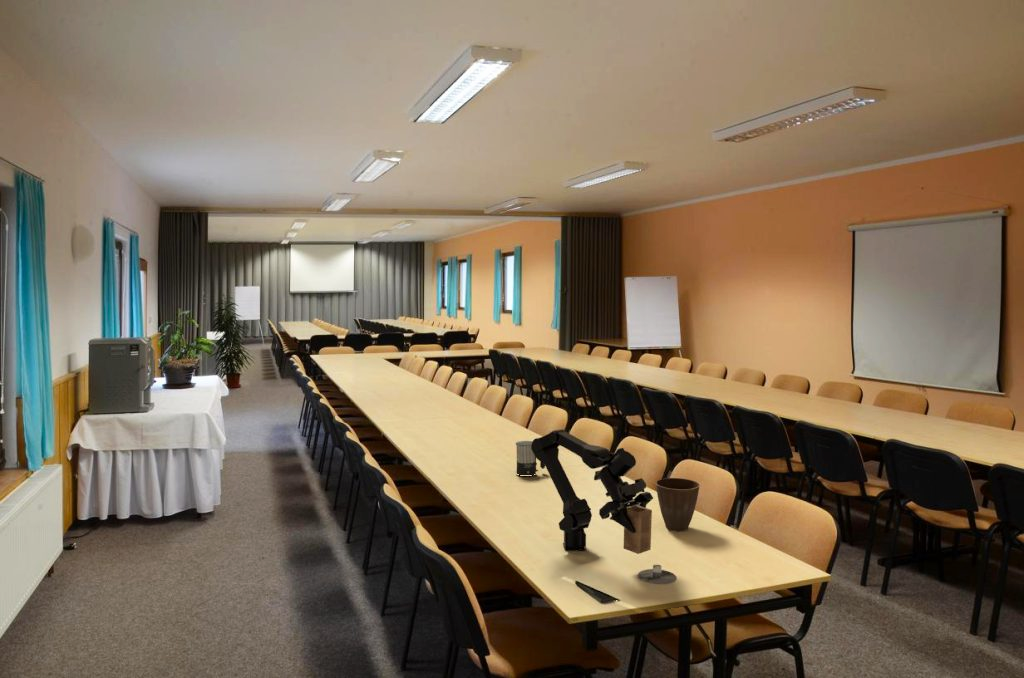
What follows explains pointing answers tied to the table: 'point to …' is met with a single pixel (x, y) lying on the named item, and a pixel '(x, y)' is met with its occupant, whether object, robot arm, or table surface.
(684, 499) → the plant pot
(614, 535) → the table surface
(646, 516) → the walnut sleeve
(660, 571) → the peg stand
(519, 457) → the milk frother
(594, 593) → the phone
